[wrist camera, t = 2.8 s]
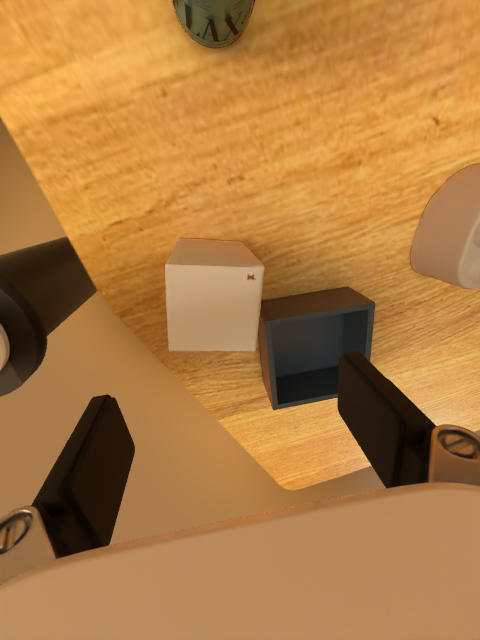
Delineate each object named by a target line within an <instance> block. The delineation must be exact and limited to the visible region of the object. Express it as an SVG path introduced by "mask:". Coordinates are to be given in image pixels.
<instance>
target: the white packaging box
mask: <svg viewBox="0 0 480 640" xmlns="http://www.w3.org/2000/svg"><path fill="white" fill-rule="evenodd" d="M264 270H265V267H264V265H263V264H262V263H261V262H260V261H259V260H258V259H257V258H256V256H255V255H254V254H253V253H252V252H251V251H250V250H249V249H248V248H247V246H246V245H245V244H244V243H243V242H242V241H225V240H209V239H192V238H179V239H178V241H177V243H176V245H175V247H174V249H173V251H172V253H171V255H170V257H169V259H168V261H167V263H166V264H165V288H166V312H167V333H168V348H169V351H235V352H254V351H255V350H256V345H257V335H258V325H259V316H260V309H261V297H262V287H263V278H264Z"/></svg>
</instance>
